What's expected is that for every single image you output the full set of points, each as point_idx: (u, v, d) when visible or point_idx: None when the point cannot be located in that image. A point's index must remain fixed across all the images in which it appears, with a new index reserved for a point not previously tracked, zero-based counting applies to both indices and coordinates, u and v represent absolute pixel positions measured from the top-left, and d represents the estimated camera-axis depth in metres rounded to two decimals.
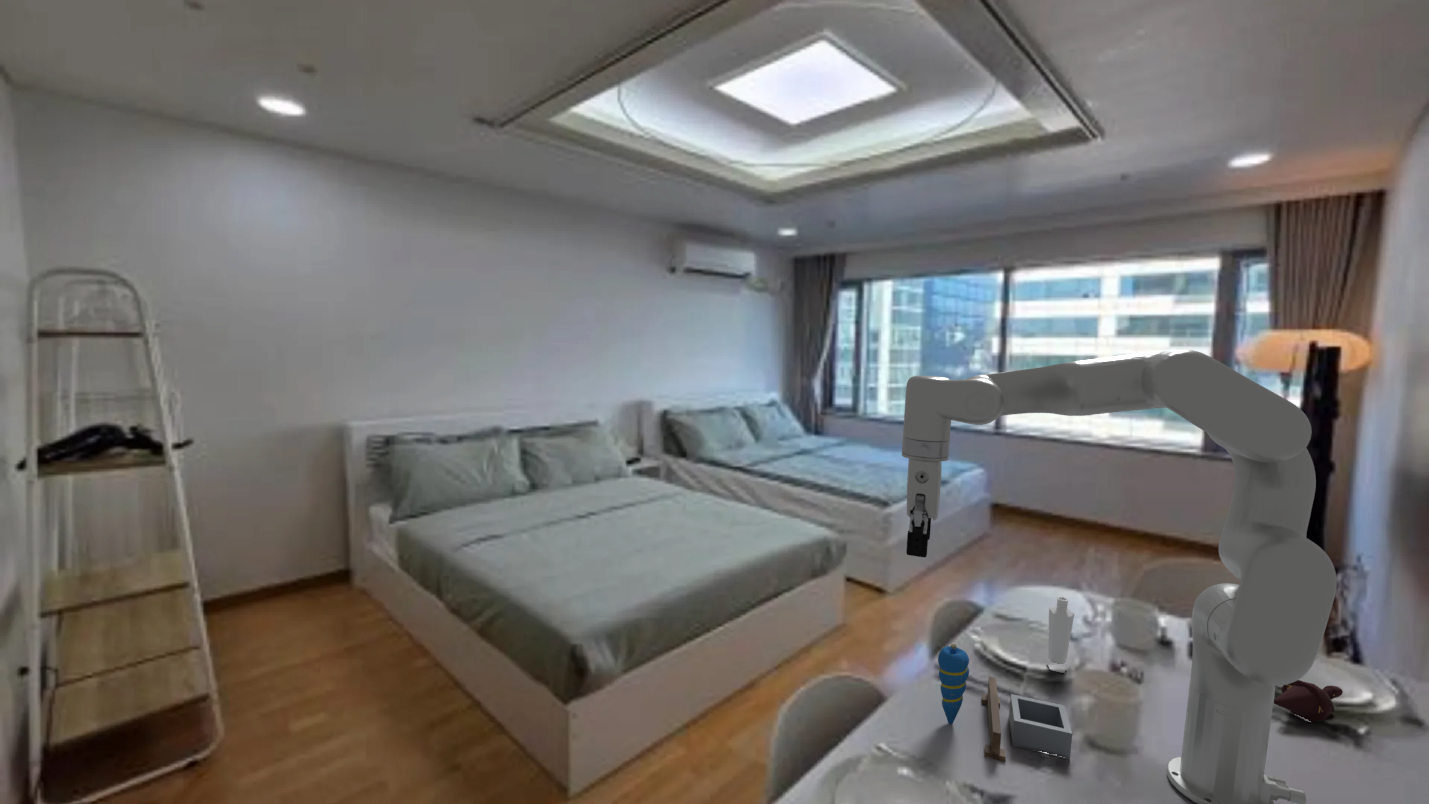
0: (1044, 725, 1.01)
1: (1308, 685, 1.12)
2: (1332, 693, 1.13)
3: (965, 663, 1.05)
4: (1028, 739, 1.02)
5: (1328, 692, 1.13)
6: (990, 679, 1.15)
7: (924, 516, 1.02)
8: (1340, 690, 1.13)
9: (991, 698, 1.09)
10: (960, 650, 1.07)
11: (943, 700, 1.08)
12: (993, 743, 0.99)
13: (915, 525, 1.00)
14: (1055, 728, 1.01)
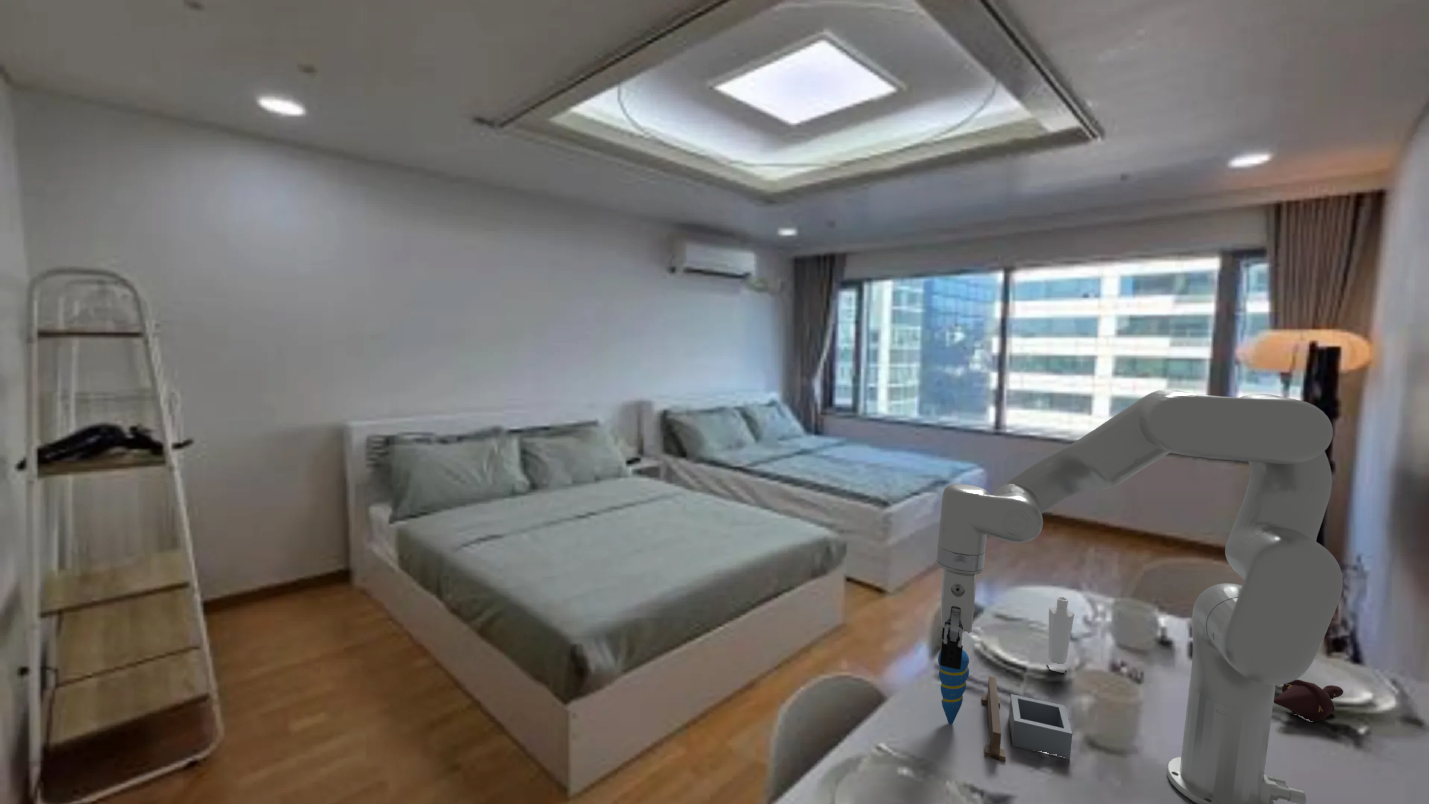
0: (1044, 725, 1.01)
1: (1308, 685, 1.13)
2: (1332, 692, 1.13)
3: (965, 663, 1.05)
4: (1028, 739, 1.02)
5: (1328, 692, 1.13)
6: (990, 679, 1.15)
7: (959, 628, 1.02)
8: (1341, 690, 1.13)
9: (991, 698, 1.09)
10: None
11: (943, 700, 1.08)
12: (993, 743, 0.99)
13: (950, 640, 1.00)
14: (1055, 728, 1.01)
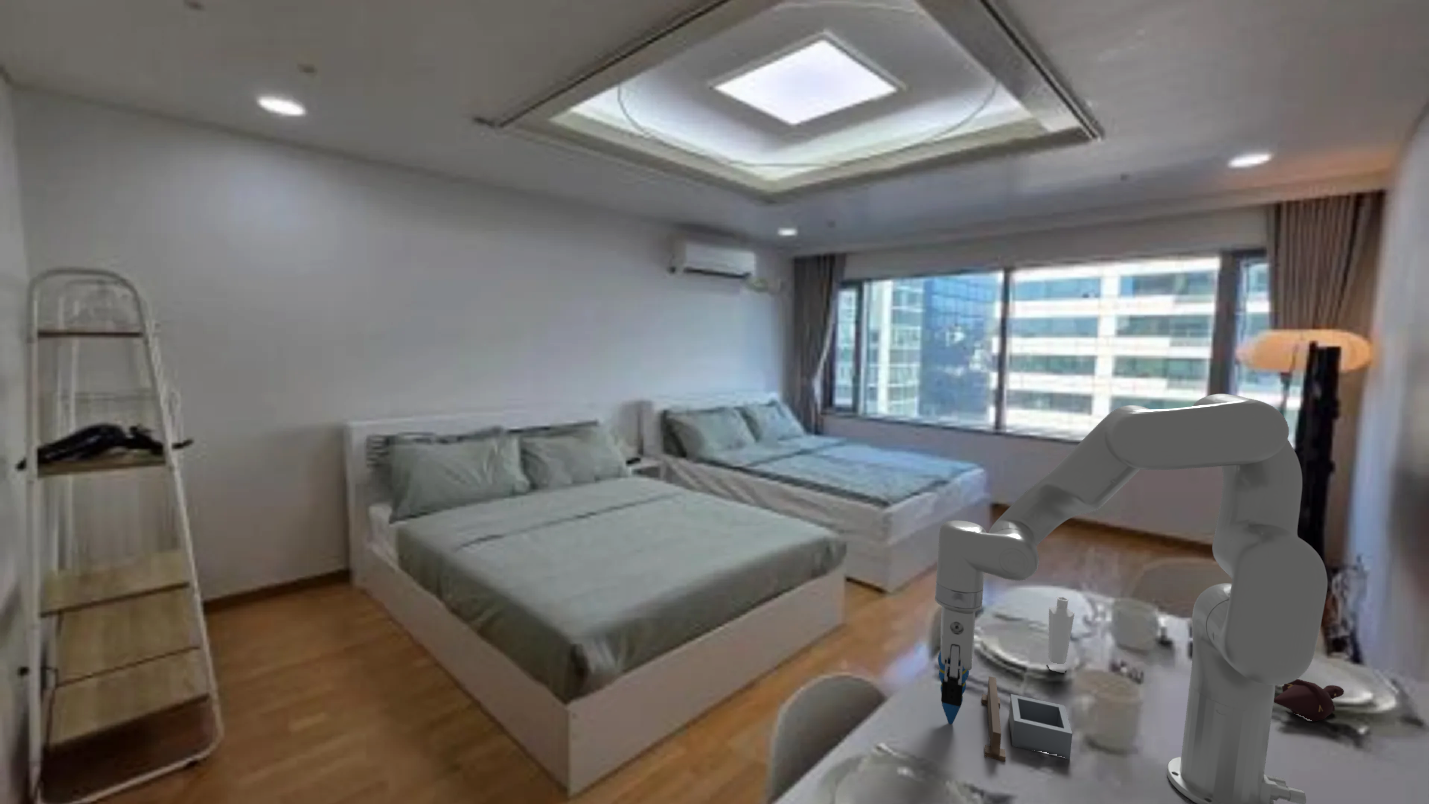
0: (1044, 725, 1.01)
1: (1309, 684, 1.13)
2: (1332, 692, 1.13)
3: None
4: (1028, 739, 1.02)
5: (1329, 691, 1.13)
6: (990, 679, 1.15)
7: (958, 668, 1.04)
8: (1341, 690, 1.14)
9: (991, 698, 1.09)
10: None
11: None
12: (993, 743, 0.99)
13: (950, 679, 1.03)
14: (1055, 728, 1.01)
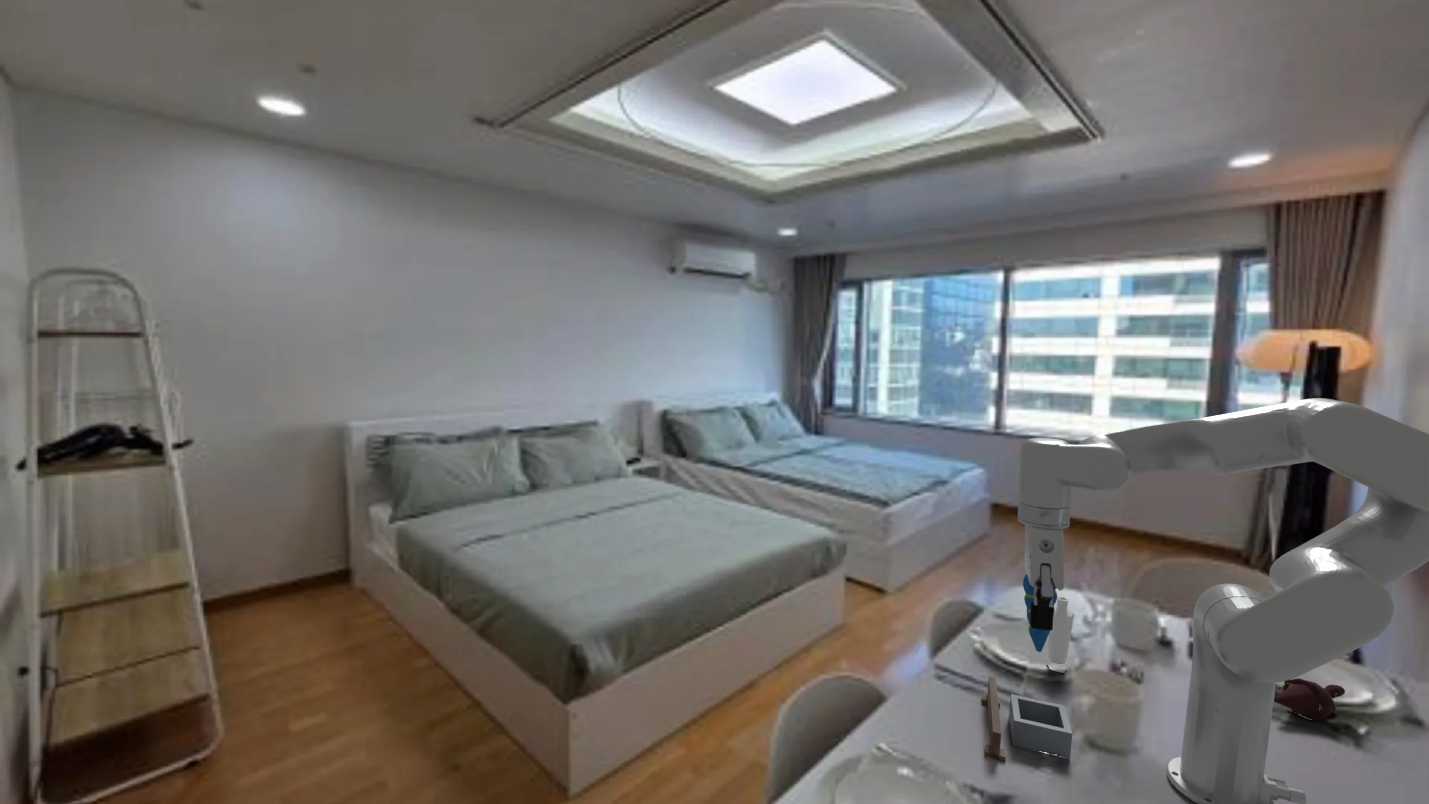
0: (1044, 725, 1.01)
1: (1309, 683, 1.13)
2: (1333, 692, 1.13)
3: (1054, 585, 1.00)
4: (1028, 739, 1.02)
5: (1330, 691, 1.14)
6: (990, 679, 1.15)
7: None
8: (1342, 689, 1.14)
9: (991, 698, 1.09)
10: None
11: (1030, 627, 1.03)
12: (993, 743, 0.99)
13: (1042, 600, 0.98)
14: (1055, 728, 1.01)
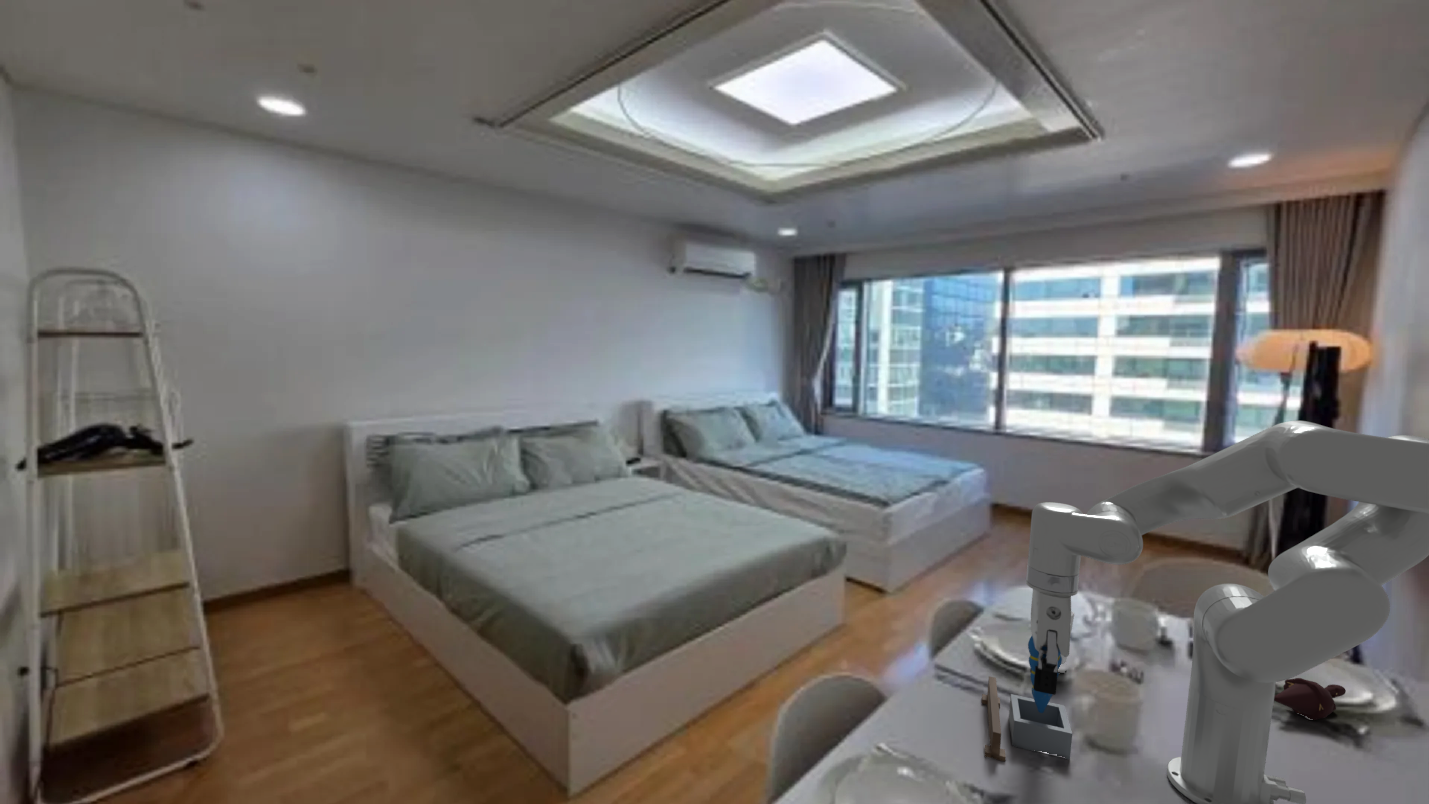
0: (1044, 725, 1.01)
1: (1309, 683, 1.13)
2: (1334, 691, 1.14)
3: (1059, 650, 1.01)
4: (1028, 739, 1.02)
5: (1330, 691, 1.14)
6: (990, 679, 1.15)
7: None
8: (1343, 689, 1.14)
9: (991, 698, 1.09)
10: None
11: None
12: (993, 743, 0.99)
13: (1046, 666, 0.99)
14: (1055, 728, 1.01)
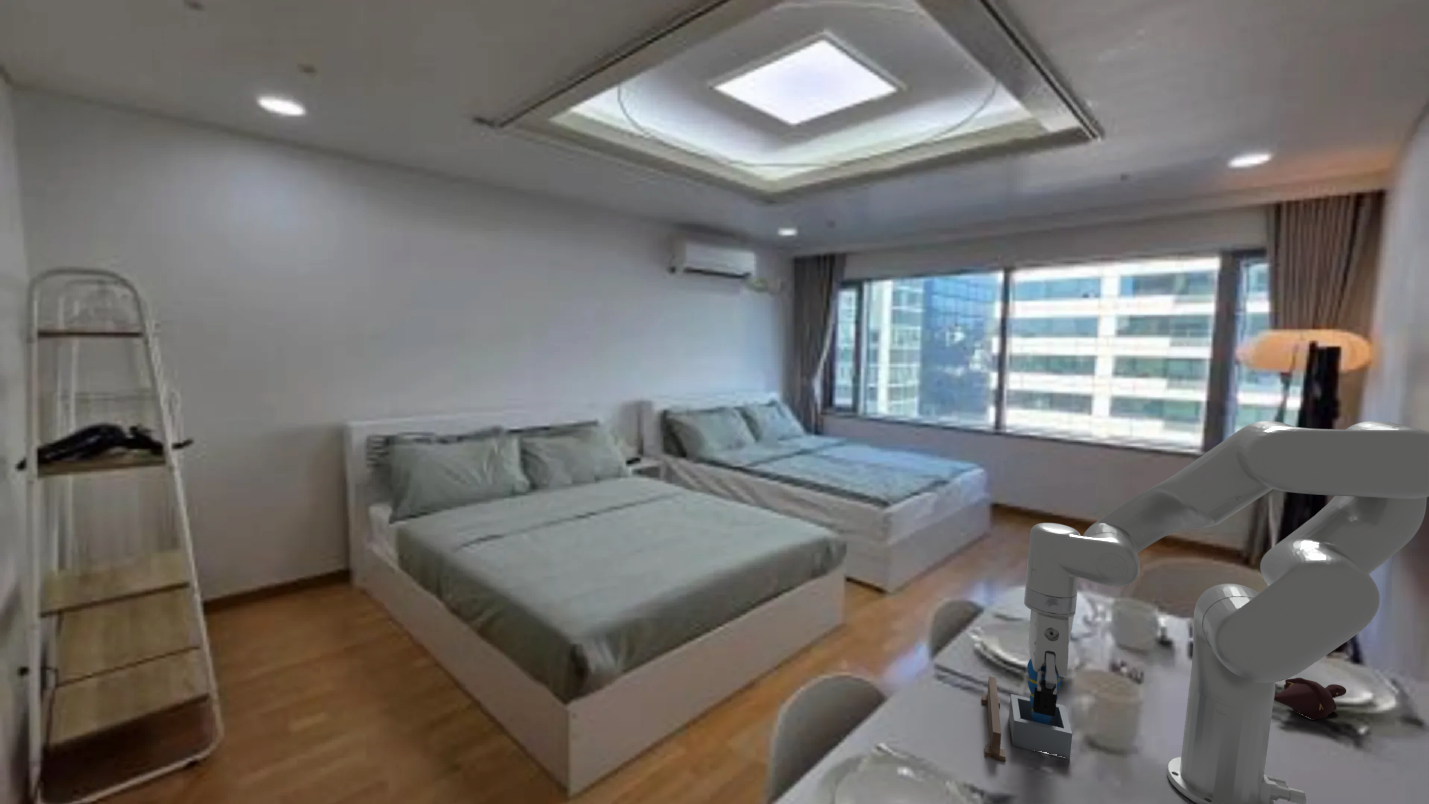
0: (1044, 725, 1.01)
1: (1310, 683, 1.13)
2: (1334, 691, 1.14)
3: None
4: (1028, 739, 1.02)
5: (1331, 690, 1.14)
6: (990, 679, 1.15)
7: None
8: (1343, 689, 1.14)
9: (991, 698, 1.09)
10: None
11: (1033, 711, 1.05)
12: (993, 743, 0.99)
13: (1046, 688, 0.98)
14: (1055, 728, 1.01)
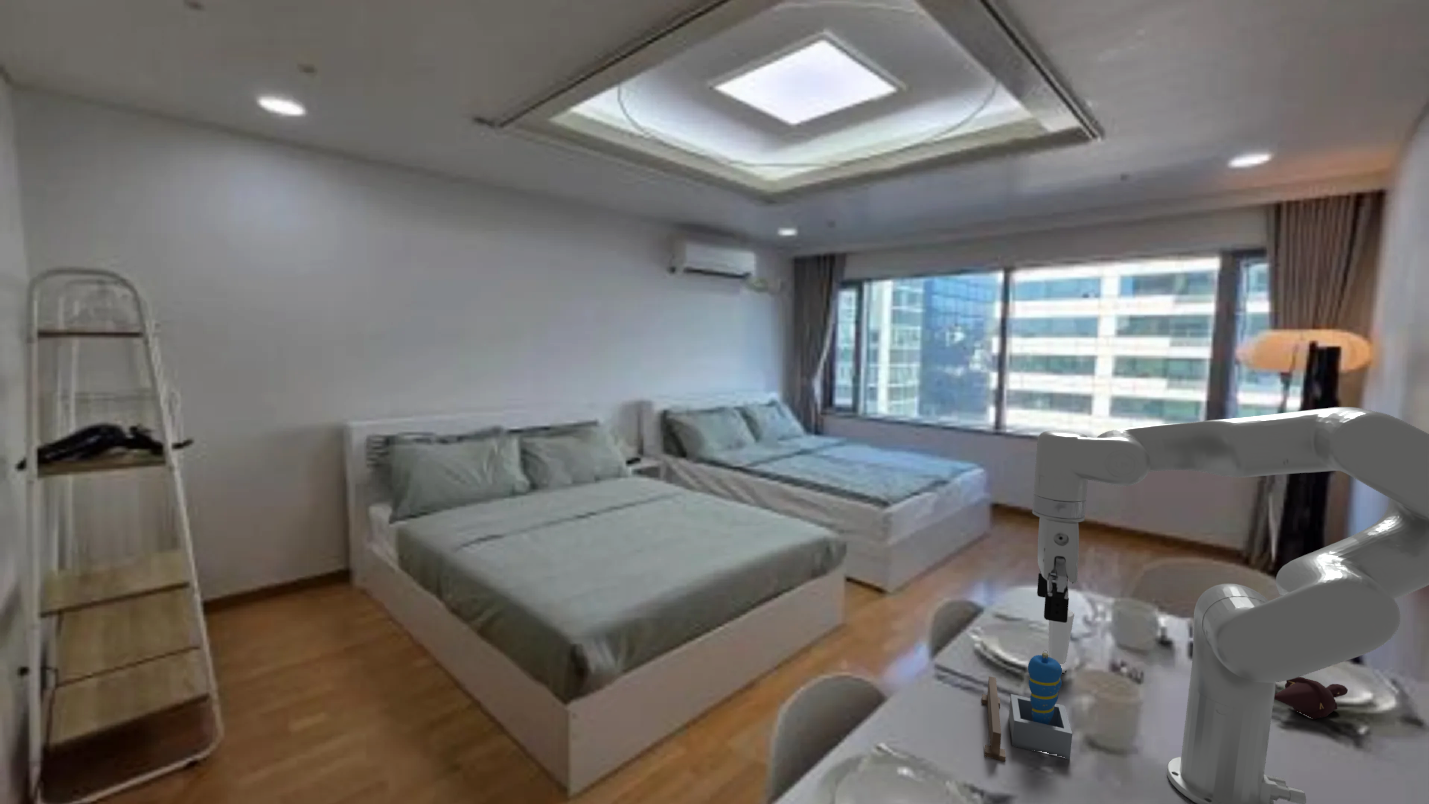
0: (1044, 725, 1.01)
1: (1310, 682, 1.14)
2: (1336, 691, 1.14)
3: (1059, 673, 1.01)
4: (1028, 739, 1.02)
5: (1332, 690, 1.14)
6: (990, 679, 1.15)
7: None
8: (1345, 688, 1.14)
9: (991, 698, 1.09)
10: (1052, 659, 1.04)
11: (1033, 711, 1.05)
12: (993, 743, 0.99)
13: (1057, 590, 0.95)
14: (1055, 728, 1.01)
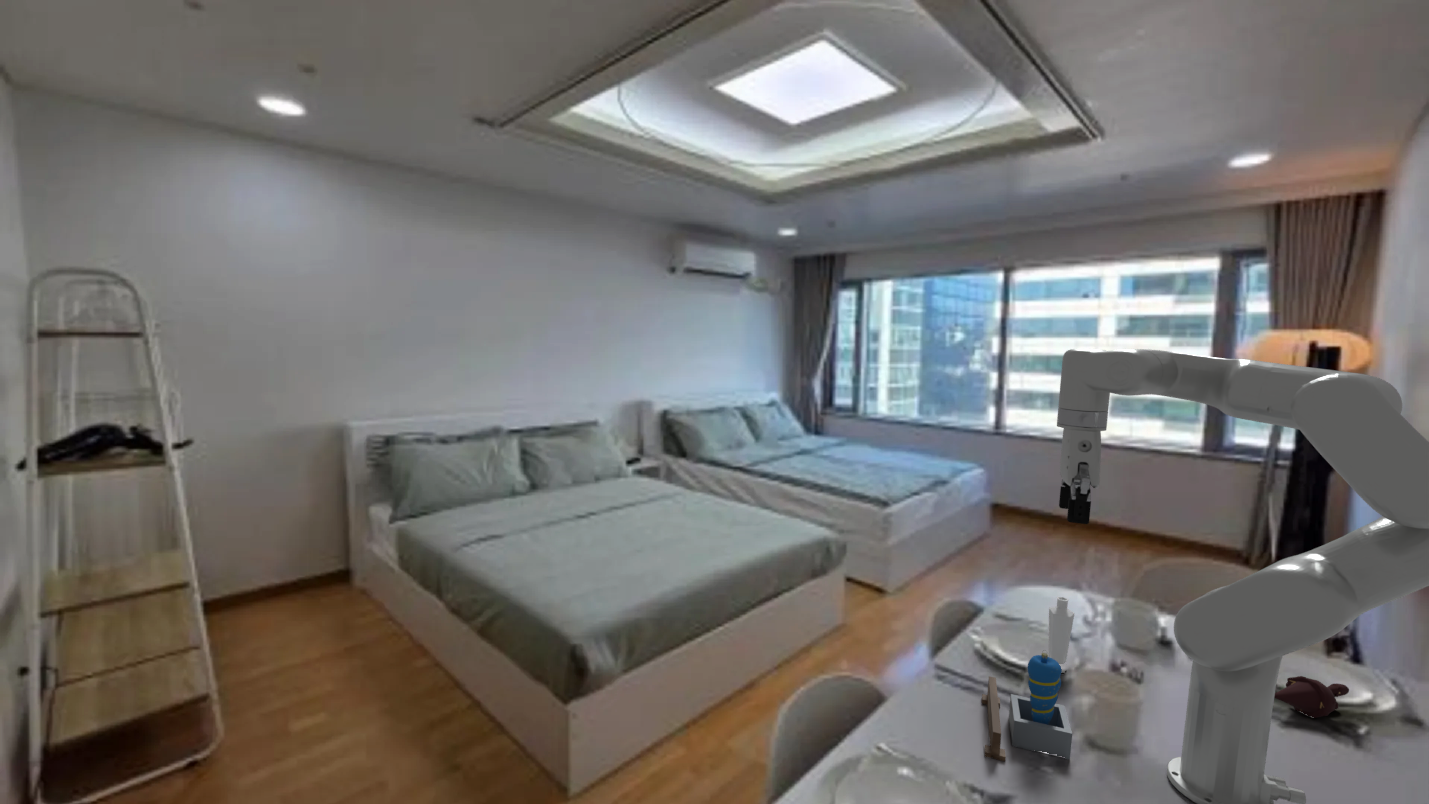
0: (1044, 725, 1.01)
1: (1311, 681, 1.14)
2: (1337, 690, 1.14)
3: (1058, 673, 1.01)
4: (1028, 739, 1.02)
5: (1333, 689, 1.14)
6: (990, 679, 1.15)
7: None
8: (1346, 688, 1.14)
9: (991, 698, 1.09)
10: (1051, 659, 1.04)
11: (1033, 711, 1.05)
12: (993, 743, 0.99)
13: (1081, 492, 1.03)
14: (1055, 728, 1.01)
